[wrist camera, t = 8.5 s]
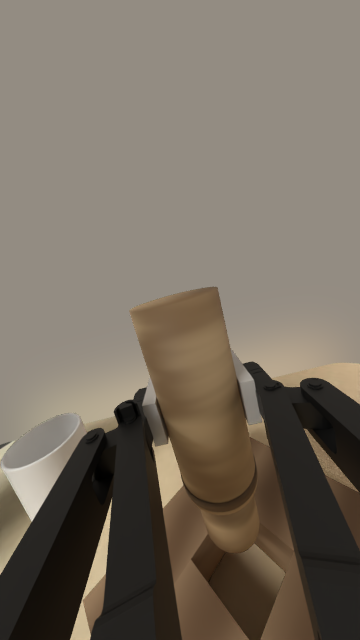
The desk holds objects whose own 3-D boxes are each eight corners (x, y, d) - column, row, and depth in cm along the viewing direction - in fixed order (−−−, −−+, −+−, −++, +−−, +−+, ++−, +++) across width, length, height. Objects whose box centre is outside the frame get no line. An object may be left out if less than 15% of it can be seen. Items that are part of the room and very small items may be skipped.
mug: (118, 446, 35) (97, 393, 32) (95, 531, 23) (60, 457, 21) (69, 460, 35) (45, 407, 32) (22, 552, 23) (-22, 480, 21)
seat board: (100, 632, 16) (82, 600, 15) (238, 452, 28) (233, 428, 27) (320, 1458, 4) (299, 1523, 4) (395, 547, 16) (395, 511, 16)
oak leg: (183, 521, 15) (113, 313, 11) (224, 469, 17) (178, 291, 14) (242, 592, 11) (162, 311, 7) (281, 511, 14) (237, 282, 10)
